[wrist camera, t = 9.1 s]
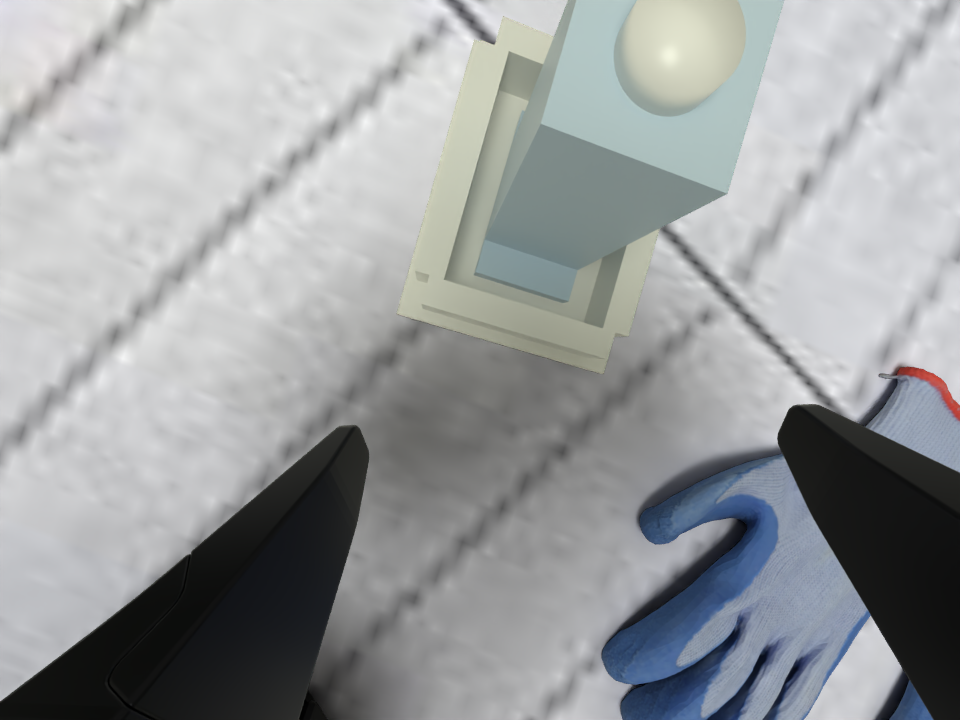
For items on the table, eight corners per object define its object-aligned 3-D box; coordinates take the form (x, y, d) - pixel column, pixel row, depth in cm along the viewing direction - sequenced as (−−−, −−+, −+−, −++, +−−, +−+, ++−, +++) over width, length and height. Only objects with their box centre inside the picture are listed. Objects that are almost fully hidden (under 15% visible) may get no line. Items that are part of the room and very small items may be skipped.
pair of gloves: (523, 616, 20) (542, 675, 17) (852, 286, 22) (935, 275, 18) (868, 954, 24) (945, 1063, 20) (1132, 651, 25) (1249, 703, 22)
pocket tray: (598, 373, 20) (639, 380, 16) (397, 314, 18) (387, 306, 14) (669, 125, 20) (730, 70, 16) (473, 49, 18) (483, -33, 14)
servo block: (562, 303, 19) (735, 249, 8) (473, 275, 18) (529, 176, 7) (606, 152, 19) (840, -107, 8) (518, 120, 18) (641, -208, 7)
